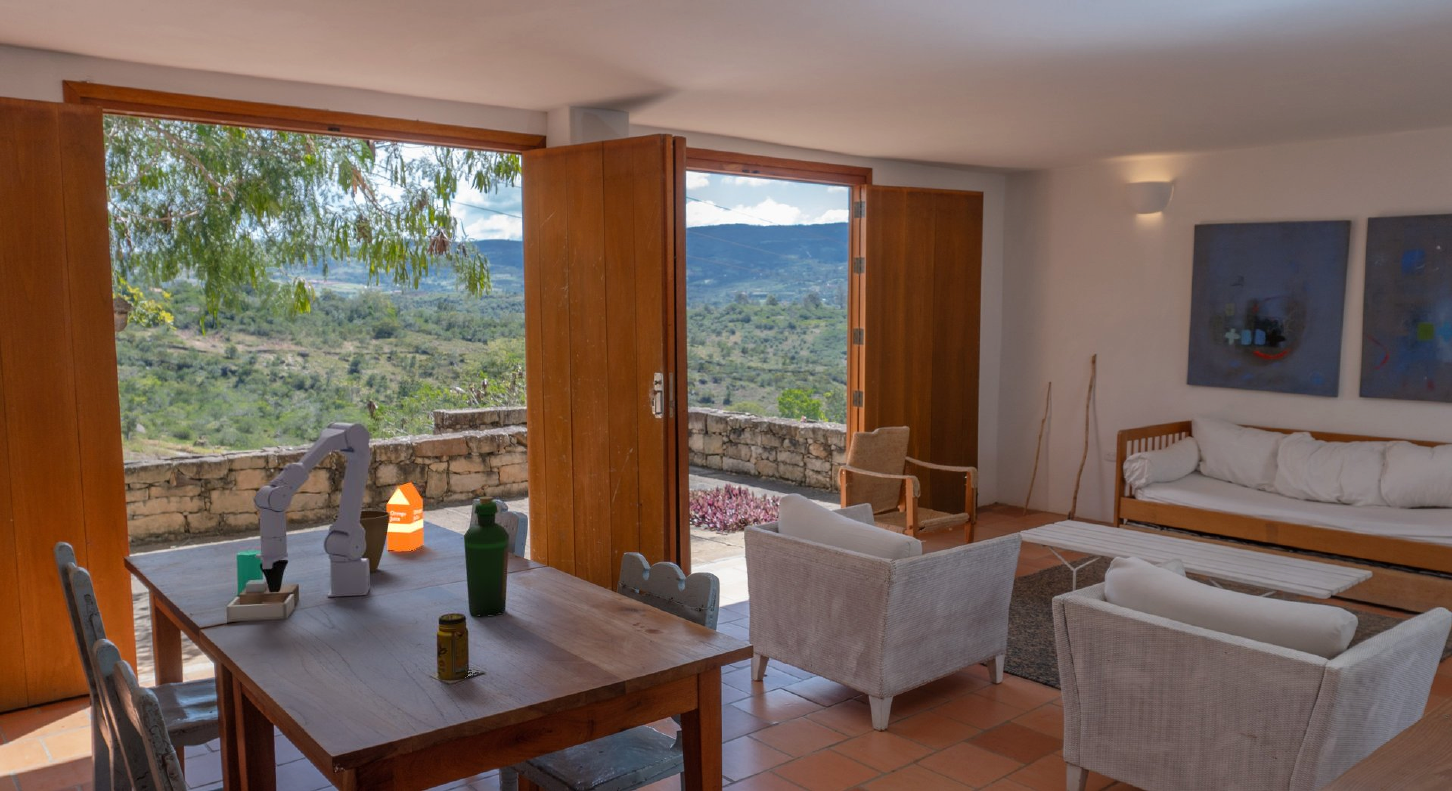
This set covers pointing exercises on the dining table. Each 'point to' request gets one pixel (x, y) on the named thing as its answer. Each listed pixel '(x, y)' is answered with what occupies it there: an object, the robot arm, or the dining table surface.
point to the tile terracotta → (271, 602)
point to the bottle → (486, 561)
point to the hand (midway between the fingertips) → (274, 591)
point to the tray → (259, 610)
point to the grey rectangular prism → (256, 585)
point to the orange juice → (405, 519)
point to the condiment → (452, 649)
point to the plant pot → (374, 535)
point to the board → (270, 595)
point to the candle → (248, 568)
